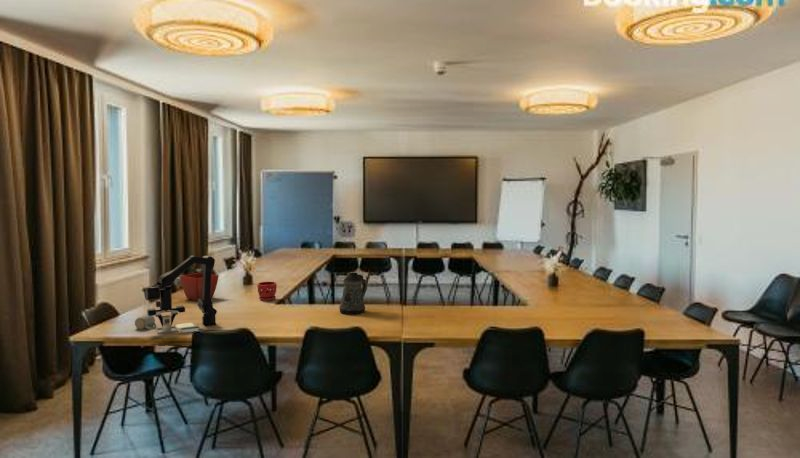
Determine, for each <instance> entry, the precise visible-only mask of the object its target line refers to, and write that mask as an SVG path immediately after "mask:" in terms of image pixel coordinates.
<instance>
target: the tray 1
mask: <svg viewBox="0 0 800 458" xmlns="http://www.w3.org/2000/svg"><path fill="white" fill-rule="evenodd" d="M155 331H156V333H157V335H161V334H167V333H168V334H170V333H178V332H179V328H177V327H176V325H172V326H171V331H165V332H163V330H162V327H156V328H155Z"/></svg>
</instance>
